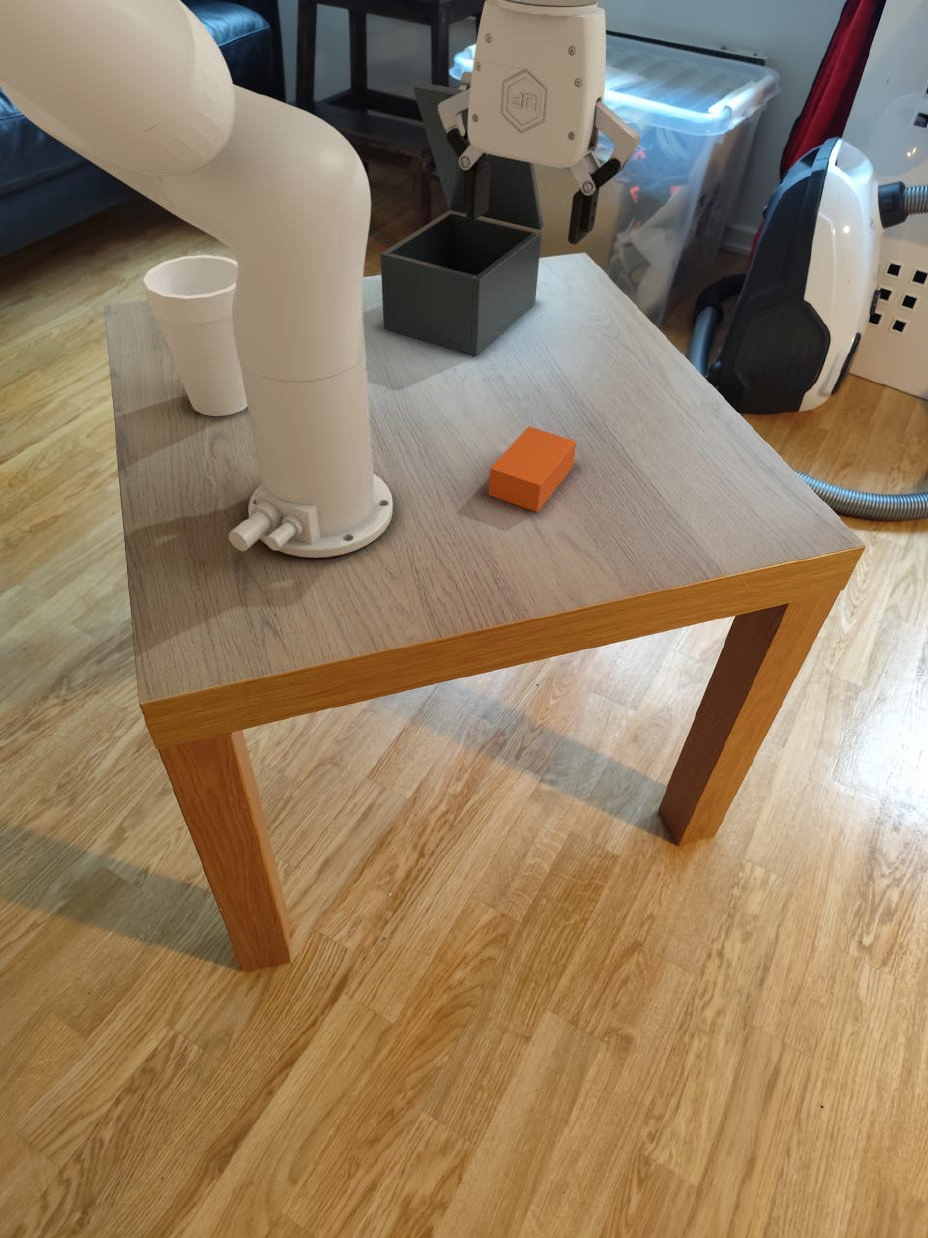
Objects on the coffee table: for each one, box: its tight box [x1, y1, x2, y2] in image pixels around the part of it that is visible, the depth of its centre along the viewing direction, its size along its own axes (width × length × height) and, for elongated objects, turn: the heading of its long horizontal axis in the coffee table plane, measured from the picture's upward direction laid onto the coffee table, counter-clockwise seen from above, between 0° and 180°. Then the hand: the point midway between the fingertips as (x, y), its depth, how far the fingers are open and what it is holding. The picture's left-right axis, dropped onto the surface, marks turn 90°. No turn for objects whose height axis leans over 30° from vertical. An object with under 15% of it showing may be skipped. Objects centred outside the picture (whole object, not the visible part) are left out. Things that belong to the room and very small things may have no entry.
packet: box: [488, 425, 577, 513], centre depth 76 cm, size 8×5×3 cm, turn 151°
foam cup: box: [142, 254, 248, 417], centre depth 81 cm, size 10×9×13 cm
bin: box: [380, 210, 543, 357], centre depth 97 cm, size 16×13×9 cm
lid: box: [412, 70, 544, 231], centre depth 91 cm, size 16×13×5 cm
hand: (526, 227), depth 72 cm, fingers open, 9 cm apart
